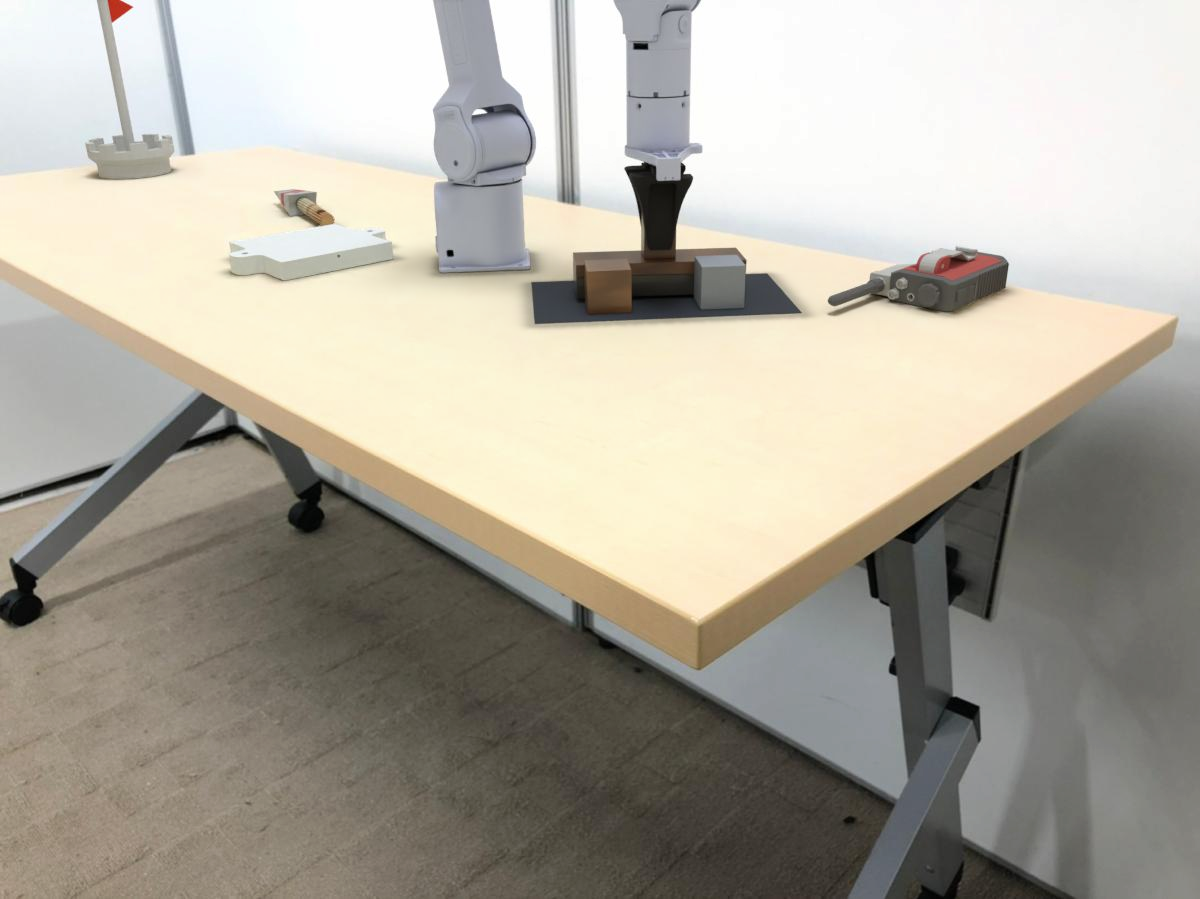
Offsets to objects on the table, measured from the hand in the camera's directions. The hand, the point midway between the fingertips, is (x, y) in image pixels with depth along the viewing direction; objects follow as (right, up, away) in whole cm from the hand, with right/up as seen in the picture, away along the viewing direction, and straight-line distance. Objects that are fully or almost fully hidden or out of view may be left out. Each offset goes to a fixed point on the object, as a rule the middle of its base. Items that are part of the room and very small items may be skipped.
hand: (657, 245), depth 100 cm
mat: (0, -5, +1) cm, 5 cm away
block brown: (-5, -6, -3) cm, 8 cm away
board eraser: (0, -4, +2) cm, 4 cm away
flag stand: (-81, +26, +73) cm, 112 cm away
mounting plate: (-37, +2, +17) cm, 41 cm away
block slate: (+6, -6, -2) cm, 8 cm away
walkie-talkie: (+24, -6, -1) cm, 25 cm away
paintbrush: (-44, +12, +40) cm, 61 cm away
